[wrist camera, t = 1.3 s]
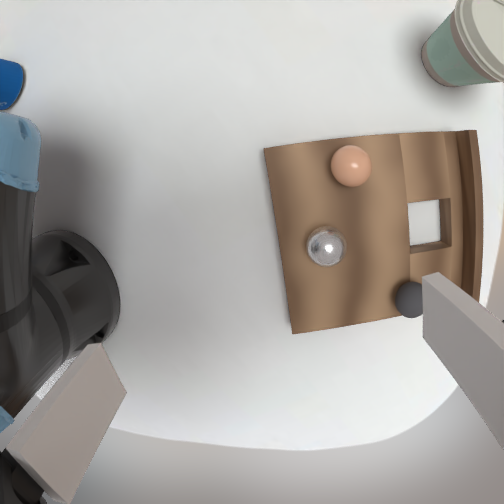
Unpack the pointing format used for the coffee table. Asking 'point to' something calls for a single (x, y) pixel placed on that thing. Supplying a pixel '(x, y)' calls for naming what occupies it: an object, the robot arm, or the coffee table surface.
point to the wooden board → (375, 223)
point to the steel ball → (326, 246)
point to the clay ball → (351, 166)
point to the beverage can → (9, 82)
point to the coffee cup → (468, 45)
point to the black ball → (410, 300)
